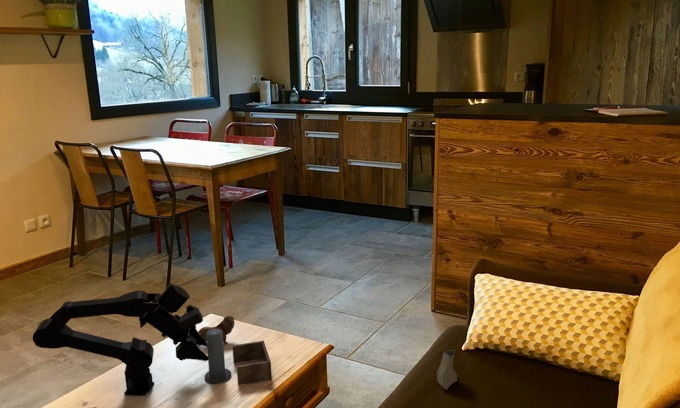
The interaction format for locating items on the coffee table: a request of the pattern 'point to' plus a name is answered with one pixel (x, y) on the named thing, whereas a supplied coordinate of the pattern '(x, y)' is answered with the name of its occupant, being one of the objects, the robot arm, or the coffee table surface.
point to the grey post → (215, 353)
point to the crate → (254, 370)
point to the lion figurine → (224, 326)
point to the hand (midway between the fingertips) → (207, 352)
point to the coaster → (218, 381)
